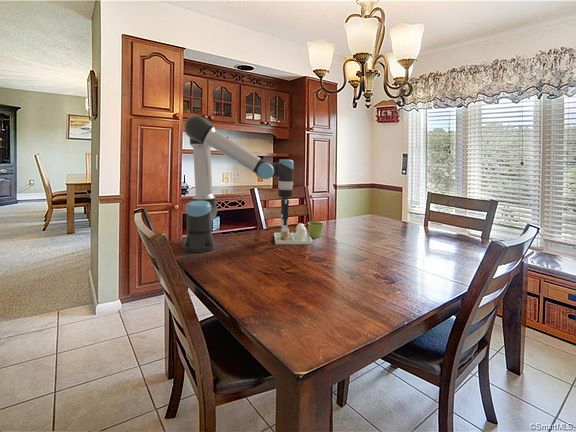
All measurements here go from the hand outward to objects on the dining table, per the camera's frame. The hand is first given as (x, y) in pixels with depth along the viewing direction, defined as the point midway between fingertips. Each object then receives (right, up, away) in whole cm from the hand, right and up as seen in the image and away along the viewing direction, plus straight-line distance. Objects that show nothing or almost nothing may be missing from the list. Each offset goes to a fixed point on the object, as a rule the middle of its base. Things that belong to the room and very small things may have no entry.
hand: (283, 228), depth 184 cm
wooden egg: (0, -7, +1) cm, 7 cm away
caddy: (+5, -7, +6) cm, 11 cm away
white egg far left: (+9, -6, +11) cm, 16 cm away
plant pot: (+18, -6, +15) cm, 25 cm away
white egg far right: (+10, -7, +2) cm, 12 cm away
